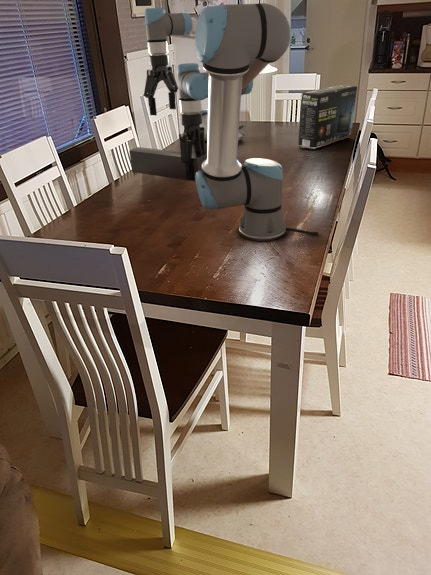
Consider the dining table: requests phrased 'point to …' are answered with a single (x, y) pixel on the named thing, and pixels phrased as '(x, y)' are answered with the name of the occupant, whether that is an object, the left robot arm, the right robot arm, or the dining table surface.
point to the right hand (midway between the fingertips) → (194, 177)
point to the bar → (163, 163)
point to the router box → (326, 115)
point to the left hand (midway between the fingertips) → (163, 112)
